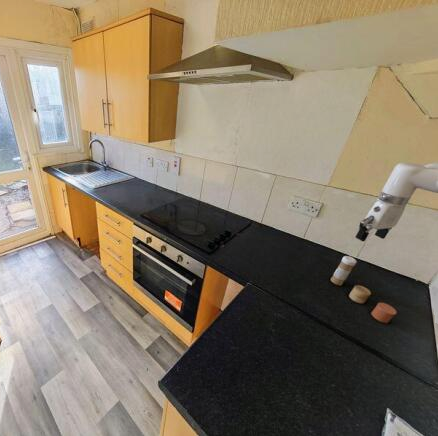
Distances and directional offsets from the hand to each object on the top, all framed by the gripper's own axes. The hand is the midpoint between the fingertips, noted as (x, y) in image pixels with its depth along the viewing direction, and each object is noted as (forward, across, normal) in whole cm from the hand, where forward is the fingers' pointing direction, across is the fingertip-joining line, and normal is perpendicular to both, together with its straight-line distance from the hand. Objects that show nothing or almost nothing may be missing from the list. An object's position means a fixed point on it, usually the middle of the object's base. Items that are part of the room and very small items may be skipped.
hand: (369, 238), depth 89 cm
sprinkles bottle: (+25, -1, +2) cm, 25 cm away
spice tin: (+25, -2, -8) cm, 26 cm away
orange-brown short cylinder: (+25, -2, -17) cm, 30 cm away
